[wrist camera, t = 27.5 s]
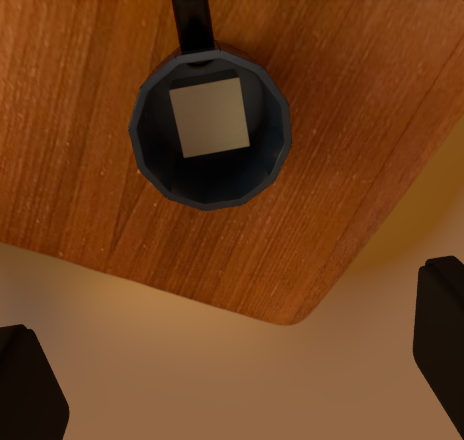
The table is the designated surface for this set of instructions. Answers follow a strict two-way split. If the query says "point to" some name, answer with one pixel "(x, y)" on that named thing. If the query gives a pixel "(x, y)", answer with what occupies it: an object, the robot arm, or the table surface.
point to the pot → (219, 163)
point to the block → (209, 113)
